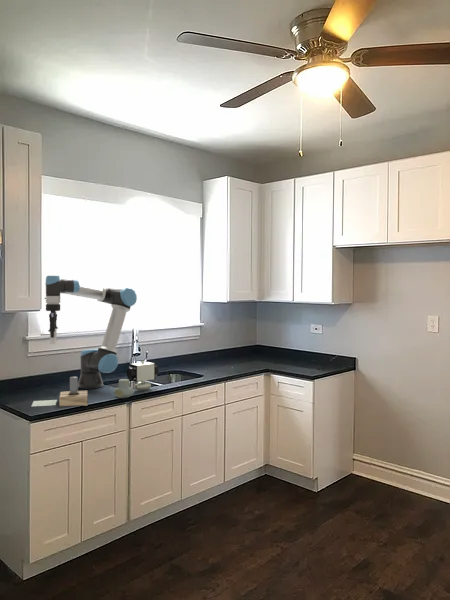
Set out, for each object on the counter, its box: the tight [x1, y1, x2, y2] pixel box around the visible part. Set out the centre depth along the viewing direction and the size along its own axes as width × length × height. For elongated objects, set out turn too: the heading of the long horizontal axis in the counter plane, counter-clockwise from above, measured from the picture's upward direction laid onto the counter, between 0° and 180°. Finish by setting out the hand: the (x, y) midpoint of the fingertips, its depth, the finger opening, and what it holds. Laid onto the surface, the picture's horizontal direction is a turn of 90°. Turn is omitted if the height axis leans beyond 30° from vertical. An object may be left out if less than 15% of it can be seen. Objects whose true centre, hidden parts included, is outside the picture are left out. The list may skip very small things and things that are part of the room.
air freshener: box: [113, 378, 135, 399], centre depth 283 cm, size 11×8×10 cm
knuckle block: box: [58, 390, 88, 407], centre depth 268 cm, size 14×14×5 cm
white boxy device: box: [126, 360, 159, 392], centre depth 301 cm, size 18×8×18 cm, turn 129°
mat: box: [30, 399, 58, 407], centre depth 266 cm, size 12×12×1 cm
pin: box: [69, 376, 79, 395], centre depth 268 cm, size 4×4×14 cm
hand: (53, 342), depth 276 cm, fingers open, 13 cm apart
